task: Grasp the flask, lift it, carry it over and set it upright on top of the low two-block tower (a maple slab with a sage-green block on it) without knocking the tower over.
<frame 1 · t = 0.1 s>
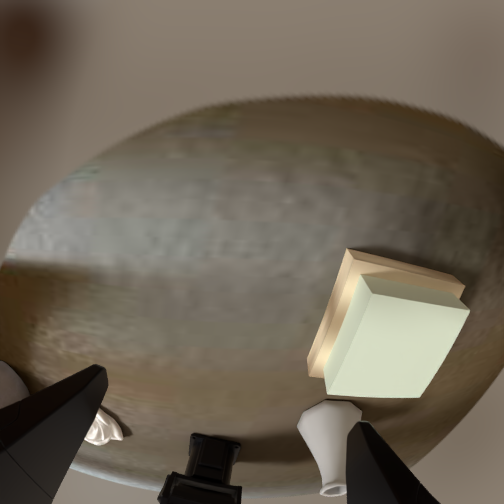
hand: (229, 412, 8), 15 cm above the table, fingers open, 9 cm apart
pillar candle: (13, 379, 35), on the table
flask: (329, 416, 28), on the table
rose: (96, 416, 33), on the table
tower base: (380, 316, 24), on the table
tower top: (390, 333, 21), point 2 cm above the table
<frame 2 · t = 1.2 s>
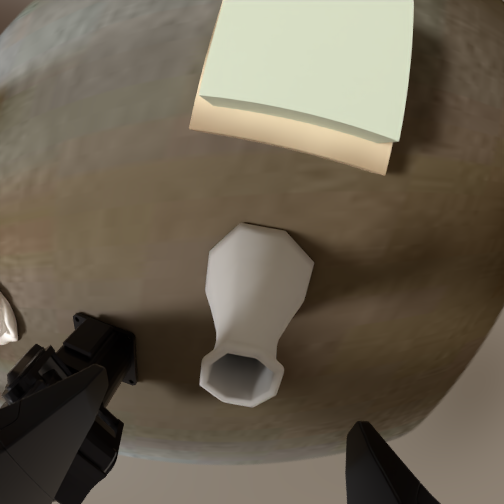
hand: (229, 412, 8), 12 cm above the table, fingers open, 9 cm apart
flask: (258, 274, 20), on the table
tower base: (305, 70, 15), on the table, touching tower top
tower top: (312, 47, 12), point 2 cm above the table, touching tower base
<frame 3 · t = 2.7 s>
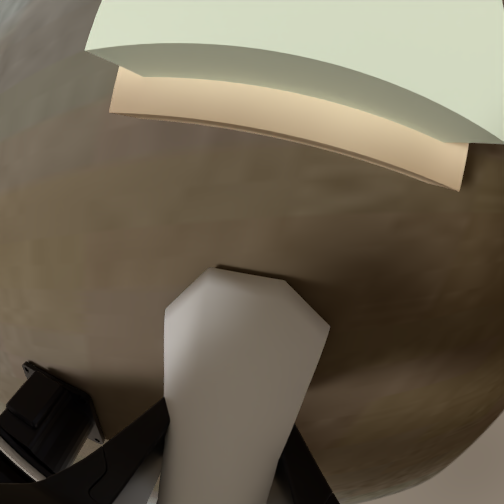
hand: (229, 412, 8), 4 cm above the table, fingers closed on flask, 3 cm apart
flask: (242, 340, 12), on the table, touching gripper
tower base: (313, 17, 8), on the table, touching tower top
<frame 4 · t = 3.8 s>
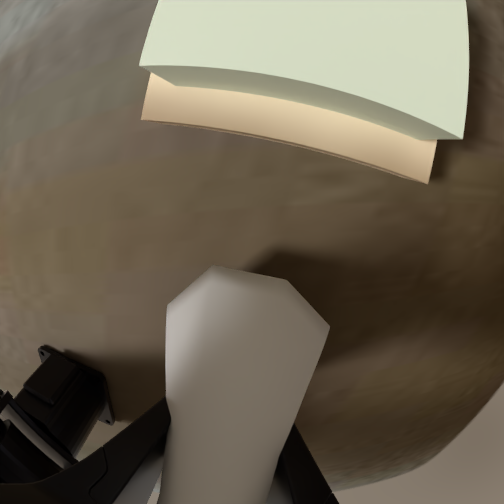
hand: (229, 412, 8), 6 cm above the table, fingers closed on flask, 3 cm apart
flask: (243, 338, 13), point 2 cm above the table, touching gripper
tower base: (308, 37, 10), on the table
tower top: (320, 2, 7), point 2 cm above the table
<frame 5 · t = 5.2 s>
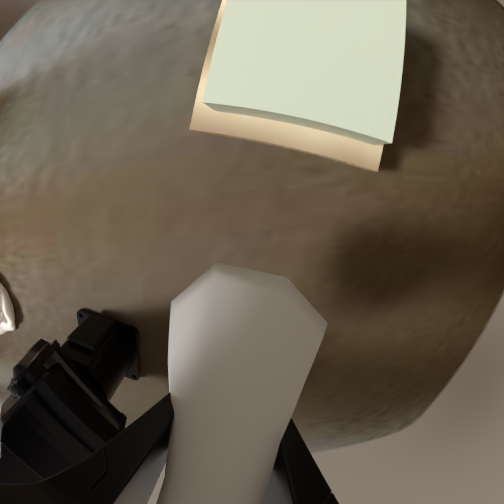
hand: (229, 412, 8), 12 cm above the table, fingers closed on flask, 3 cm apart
flask: (243, 334, 13), point 8 cm above the table, touching gripper
tower base: (300, 71, 16), on the table, touching tower top
tower top: (309, 53, 13), point 2 cm above the table, touching tower base
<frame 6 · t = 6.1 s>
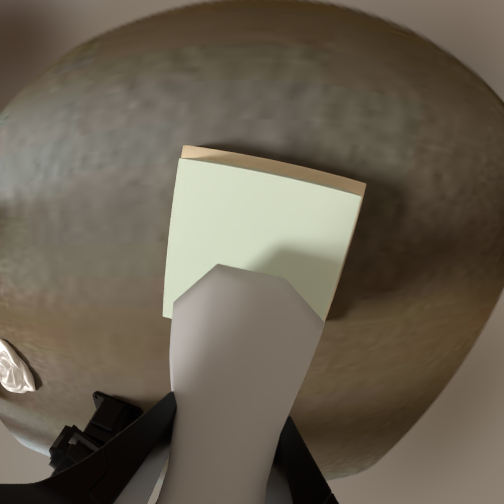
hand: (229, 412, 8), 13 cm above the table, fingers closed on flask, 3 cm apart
flask: (243, 334, 13), point 8 cm above the table, touching gripper
rose: (16, 363, 29), on the table
tower base: (259, 237, 20), on the table, touching tower top
tower top: (256, 245, 17), point 2 cm above the table, touching tower base
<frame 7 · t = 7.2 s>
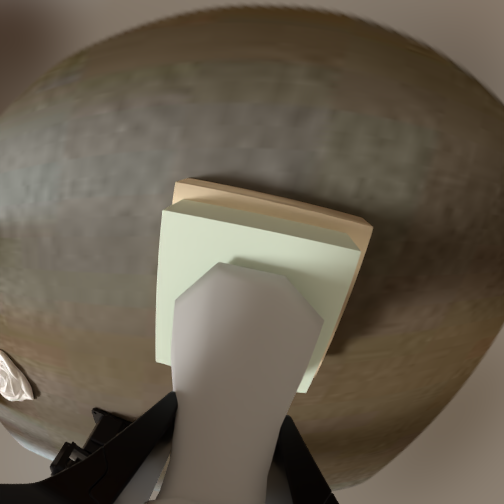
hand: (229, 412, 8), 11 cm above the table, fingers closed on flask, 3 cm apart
flask: (244, 332, 14), point 6 cm above the table, touching gripper
rose: (14, 372, 29), on the table
tower base: (258, 274, 20), on the table, touching tower top
tower top: (249, 290, 17), point 2 cm above the table, touching tower base
when the fingers open (11 cm above the table, at t = 8.0 s): flask moves 1 cm, resting on tower top.
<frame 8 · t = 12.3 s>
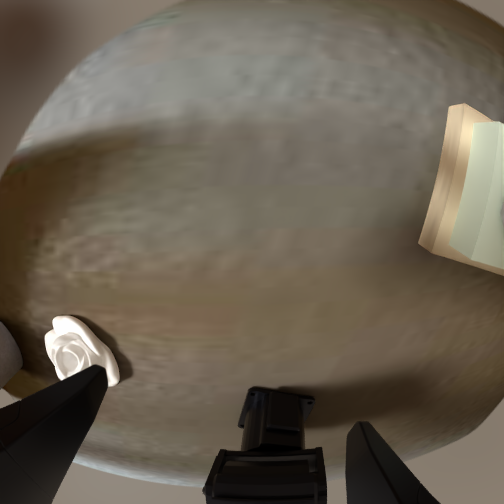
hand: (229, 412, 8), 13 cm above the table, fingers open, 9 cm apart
pillar candle: (3, 340, 28), on the table
rose: (85, 349, 26), on the table
tower base: (479, 194, 18), on the table, touching tower top
tower top: (502, 201, 15), point 2 cm above the table, touching flask, tower base
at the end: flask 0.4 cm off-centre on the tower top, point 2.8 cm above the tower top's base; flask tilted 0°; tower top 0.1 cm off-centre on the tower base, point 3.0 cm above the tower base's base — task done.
